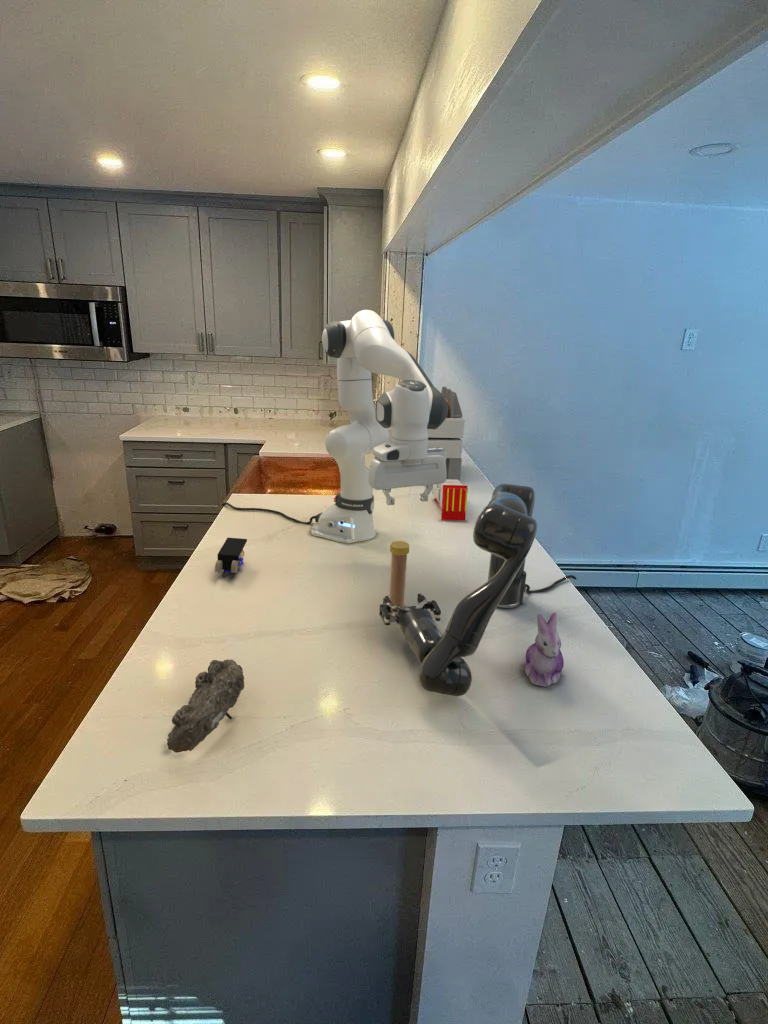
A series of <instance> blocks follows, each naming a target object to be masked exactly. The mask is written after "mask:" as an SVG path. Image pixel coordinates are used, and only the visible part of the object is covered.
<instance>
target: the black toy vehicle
mask: <svg viewBox="0 0 768 1024" xmlns="http://www.w3.org/2000/svg"><path fill="white" fill-rule="evenodd" d="M247 542H248V538H240V537H226V539H225V541H224V543H223V544H222V546H221V547H220V549H219V551H218V552H217V560H216V562H215V564H214V572H215V573H221V577H222V578H224V577H225V576H226V574H227V573H230V574H231V573H232V574H231V578H234V577H235V575H236V573H237V572H239V571H240V567H242V566H243V565H244V564H245V562H244V558H245V551H244V547H245V546H246V544H247Z"/></svg>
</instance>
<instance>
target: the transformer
mask: <svg viewBox="0 0 768 1024" xmlns="http://www.w3.org/2000/svg"><path fill="white" fill-rule="evenodd" d="M440 393H441V394H442V395H443V396H444V398H445V399H446V402H447V406H448V414H447V417H446V419H445V421H444V422H443V423H442V424H441V425H440V426H439V427H438V428H437V429H435V430H434V429H427V433H428V448H430V447H432V448H436V447H442V448H443V449H444V450H445V451H446V453H447V455H446V473H447V477H446V479H451V480H459V481H460V482H461V472H462V461H463V460H462V453H463V442H464V441H463V440H462V439H463V438H464V431H465V430H464V429H465V419H464V418H463V411H462V408H461V405H460V402H459V398H458V395H457V392H455V391H453V390H452V389H451V388H447V386H442V387H441V391H440ZM388 432H389V440H388V441H390V440H392V434H393V429H388ZM442 451H443V450H442Z"/></svg>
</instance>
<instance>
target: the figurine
mask: <svg viewBox="0 0 768 1024" xmlns="http://www.w3.org/2000/svg"><path fill="white" fill-rule="evenodd" d="M536 623H537V634H536V636H535V637H534V638H535V640H534V643H532V644H530V645H529V647H528V648H527V650H526V652H525V661H524V674H525V675H526V676H527V678H528V679H529V680H530V682H531V684H532V685H536V686H540V687H548V688H549V687H550V686H551V685H554V684H556V683H557V682H558V681H559V679H560V677H561V673H562V671H563V669H564V664H565V663H564V656H563V654H562V651H561V648H562V639H561V637H560V635H559V632H558V629H557V624H558V613H557V612H555V611H554V612H552V613H551V614H550V616H549V619H548V621H546V619H545V617H544V616H543V615H542V614H541V613H537V614H536Z"/></svg>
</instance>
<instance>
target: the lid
mask: <svg viewBox="0 0 768 1024" xmlns="http://www.w3.org/2000/svg"><path fill="white" fill-rule="evenodd" d="M389 553H390V554H391V553H392V554H394V555H399V556H402V555H407V556H408V554H409V553H410V544H409V543H408V542H406V541H403V540H393V541H392V542H390V545H389Z"/></svg>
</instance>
